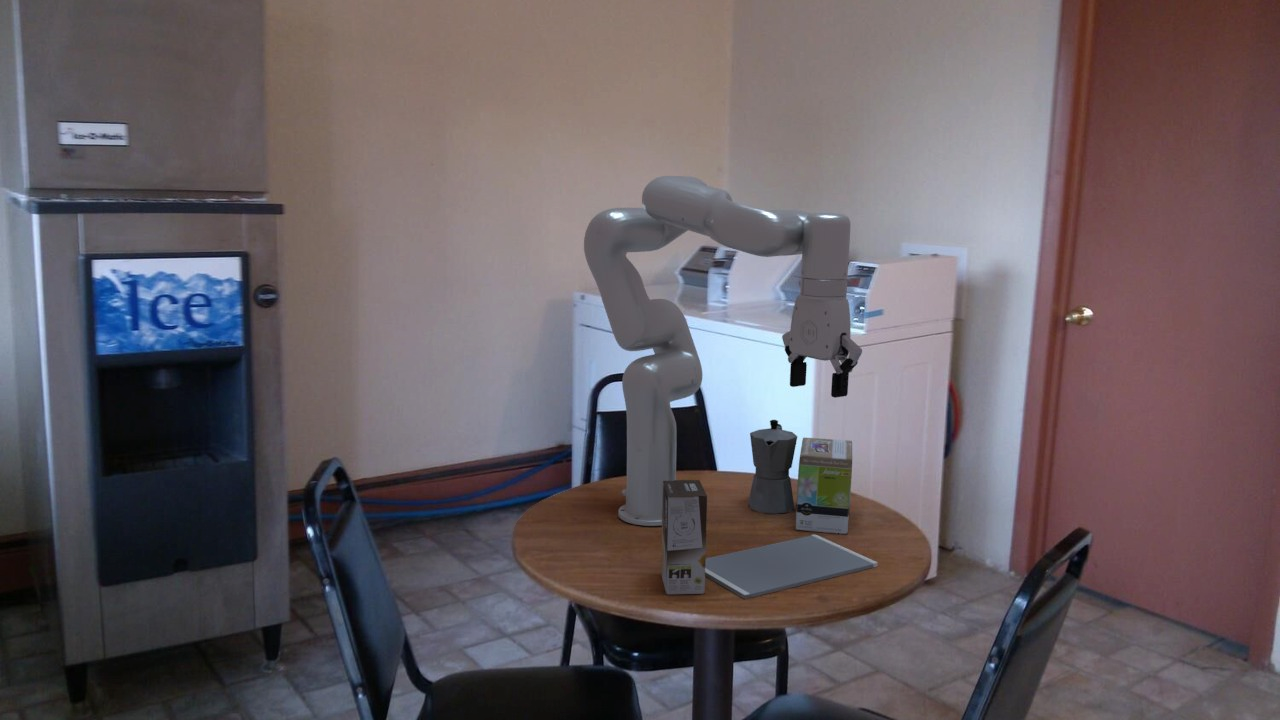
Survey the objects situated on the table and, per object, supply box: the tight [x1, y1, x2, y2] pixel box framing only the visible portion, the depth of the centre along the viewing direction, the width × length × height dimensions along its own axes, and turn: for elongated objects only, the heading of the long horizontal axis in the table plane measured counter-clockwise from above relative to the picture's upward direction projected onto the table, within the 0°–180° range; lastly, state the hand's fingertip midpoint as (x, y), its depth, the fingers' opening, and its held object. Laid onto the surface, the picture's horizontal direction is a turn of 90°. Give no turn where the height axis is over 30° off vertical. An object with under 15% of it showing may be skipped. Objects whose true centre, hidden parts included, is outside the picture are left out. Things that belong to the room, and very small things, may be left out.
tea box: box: [795, 437, 853, 535], centre depth 190 cm, size 15×10×15 cm, turn 168°
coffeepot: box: [747, 419, 798, 515], centre depth 198 cm, size 15×9×18 cm, turn 165°
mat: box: [705, 534, 879, 600], centre depth 167 cm, size 16×28×1 cm, turn 121°
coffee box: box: [660, 479, 708, 595], centre depth 158 cm, size 9×6×16 cm
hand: (817, 391), depth 165 cm, fingers open, 9 cm apart
